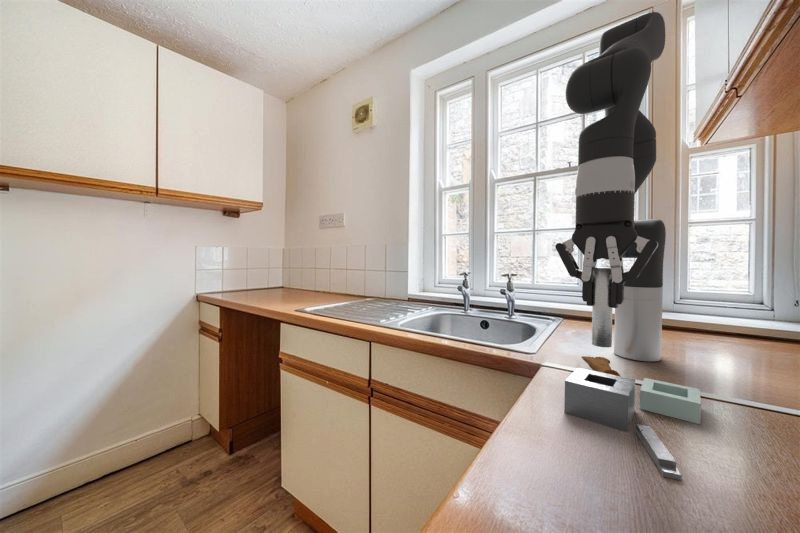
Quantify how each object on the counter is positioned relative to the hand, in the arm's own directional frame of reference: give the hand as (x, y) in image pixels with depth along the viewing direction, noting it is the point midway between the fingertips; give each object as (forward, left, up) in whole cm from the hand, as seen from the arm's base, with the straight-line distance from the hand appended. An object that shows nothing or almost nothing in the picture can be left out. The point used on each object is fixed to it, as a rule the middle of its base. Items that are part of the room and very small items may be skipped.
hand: (602, 305), depth 49 cm
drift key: (+7, +7, -17) cm, 19 cm away
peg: (0, 0, -6) cm, 6 cm away
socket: (0, 0, -17) cm, 17 cm away
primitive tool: (-22, -4, -17) cm, 28 cm away
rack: (-9, +8, -17) cm, 20 cm away
